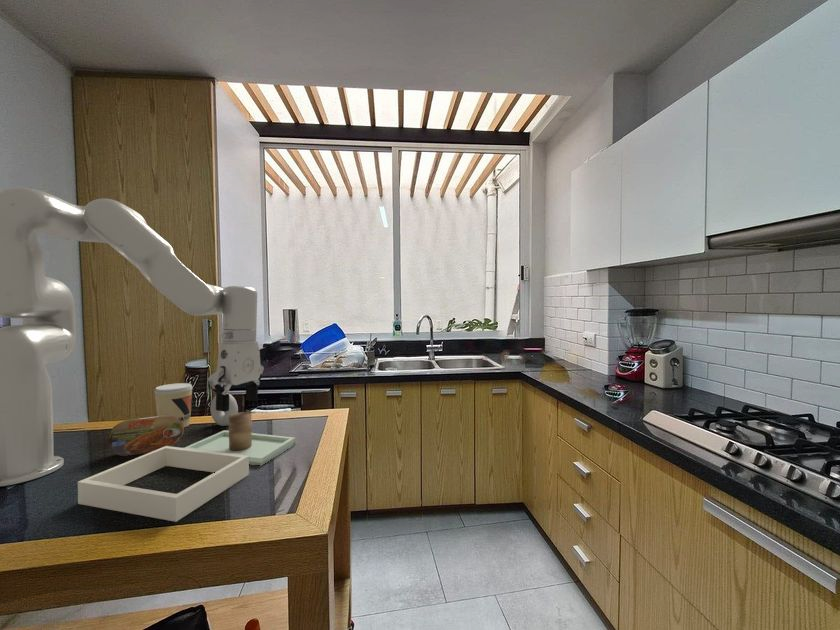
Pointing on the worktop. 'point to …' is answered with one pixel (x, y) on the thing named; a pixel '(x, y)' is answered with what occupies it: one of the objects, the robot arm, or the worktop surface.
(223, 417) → the donut
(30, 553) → the worktop surface
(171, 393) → the coffee cup
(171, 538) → the worktop surface
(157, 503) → the white rectangular frame
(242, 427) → the wooden cylinder
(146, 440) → the tin
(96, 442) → the worktop surface
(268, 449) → the tray
